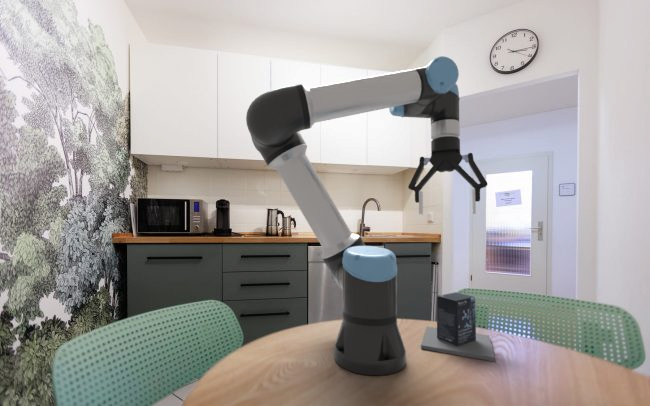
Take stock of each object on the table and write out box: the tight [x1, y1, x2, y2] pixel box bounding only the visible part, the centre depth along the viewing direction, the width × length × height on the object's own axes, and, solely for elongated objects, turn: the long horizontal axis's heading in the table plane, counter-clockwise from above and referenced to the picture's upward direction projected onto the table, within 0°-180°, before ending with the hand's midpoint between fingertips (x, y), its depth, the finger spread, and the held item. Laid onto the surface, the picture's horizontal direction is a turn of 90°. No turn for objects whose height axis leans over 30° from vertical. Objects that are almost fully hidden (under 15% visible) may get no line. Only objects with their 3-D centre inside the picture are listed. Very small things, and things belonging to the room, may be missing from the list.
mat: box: [420, 326, 496, 362], centre depth 73 cm, size 15×14×1 cm
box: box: [436, 292, 477, 346], centre depth 73 cm, size 8×6×11 cm
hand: (446, 214), depth 83 cm, fingers open, 13 cm apart
